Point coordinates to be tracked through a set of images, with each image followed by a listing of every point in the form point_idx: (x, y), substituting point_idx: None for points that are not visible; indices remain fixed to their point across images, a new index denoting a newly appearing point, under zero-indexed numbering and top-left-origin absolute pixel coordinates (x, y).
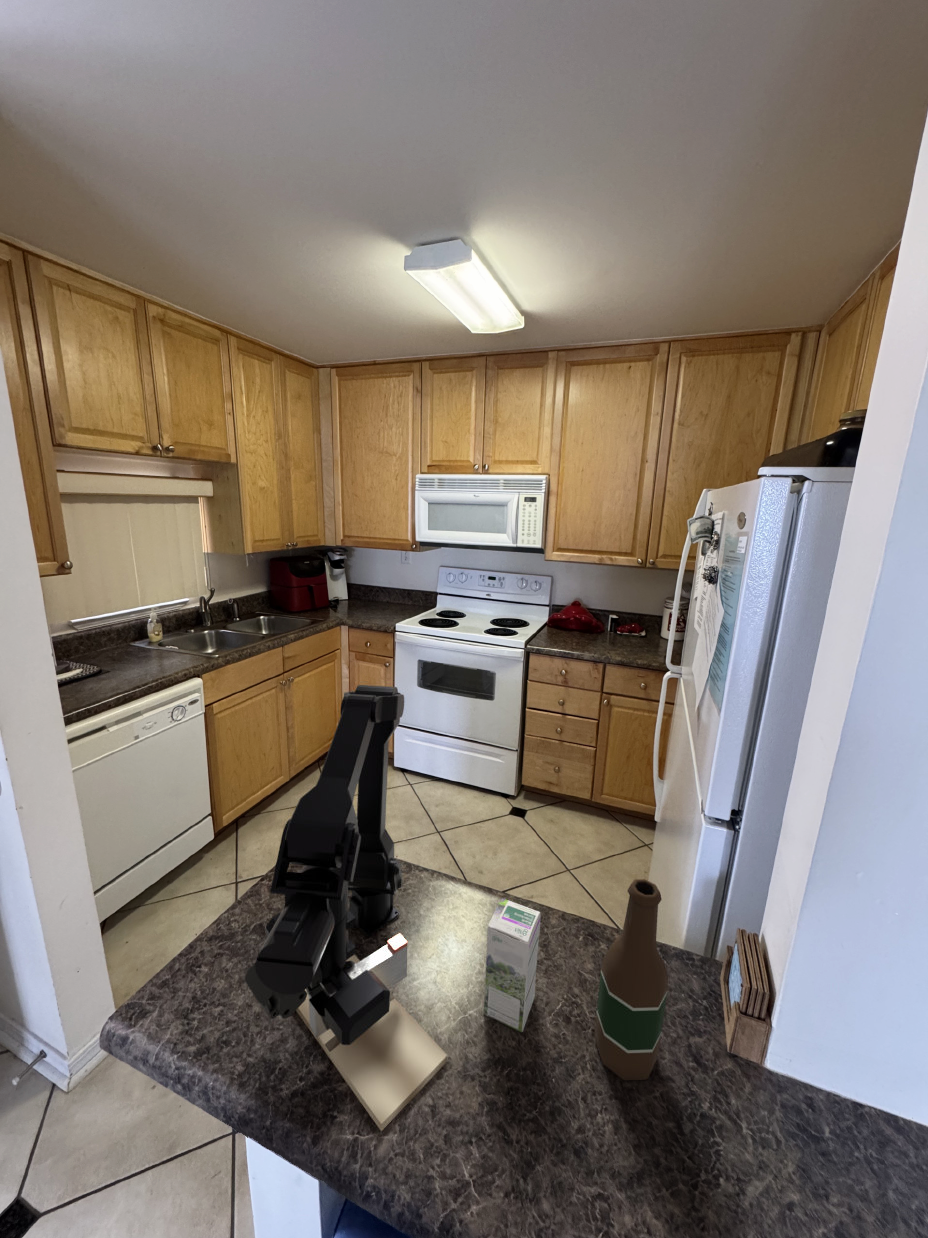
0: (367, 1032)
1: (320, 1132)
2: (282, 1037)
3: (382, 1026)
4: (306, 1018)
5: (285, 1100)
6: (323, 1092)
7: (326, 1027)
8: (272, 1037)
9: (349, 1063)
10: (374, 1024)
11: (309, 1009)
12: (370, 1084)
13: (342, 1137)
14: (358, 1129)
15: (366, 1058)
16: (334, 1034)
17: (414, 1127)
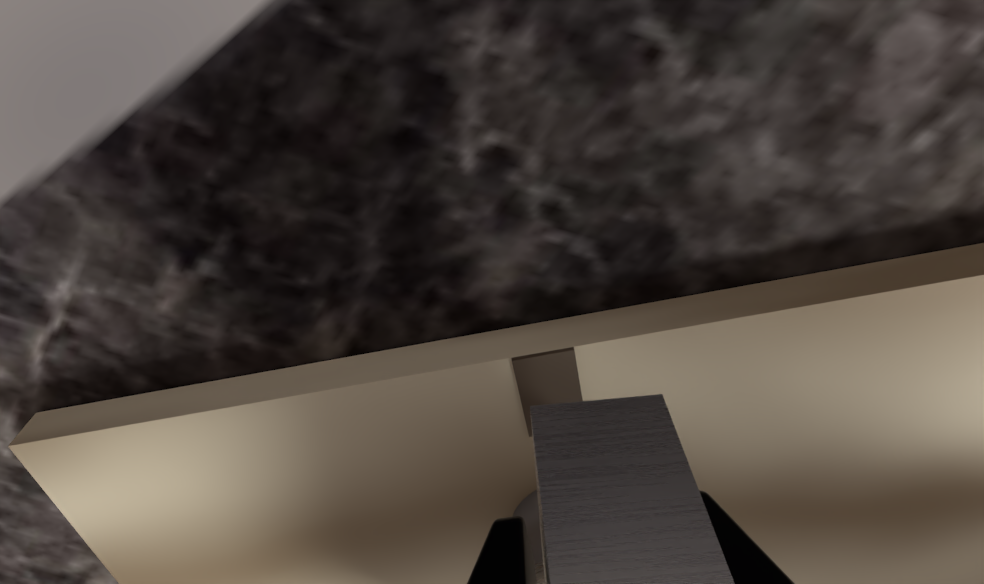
0: None
1: (134, 168)
2: (846, 126)
3: None
4: (821, 307)
5: (421, 27)
6: (347, 246)
7: (491, 550)
8: (905, 63)
9: (386, 420)
10: None
11: (720, 561)
12: (220, 467)
13: (67, 260)
14: (82, 335)
15: (365, 487)
16: None
17: (16, 513)
